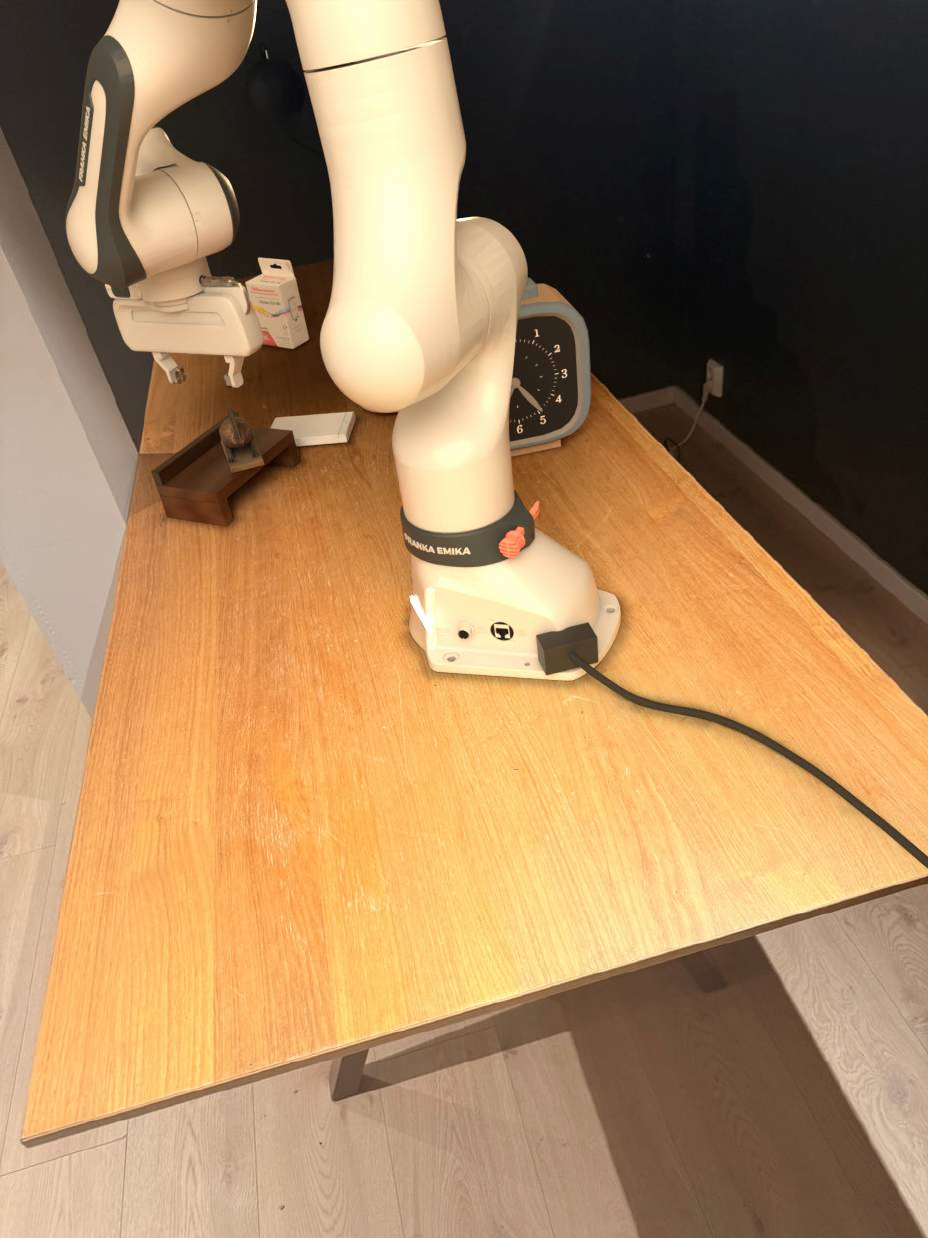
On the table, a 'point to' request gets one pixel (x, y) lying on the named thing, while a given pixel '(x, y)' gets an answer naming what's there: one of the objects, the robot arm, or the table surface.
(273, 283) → the ink cartridge box
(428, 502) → the robot arm
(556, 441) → the alarm clock
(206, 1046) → the table surface
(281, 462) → the shelf
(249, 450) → the figurine
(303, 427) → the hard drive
